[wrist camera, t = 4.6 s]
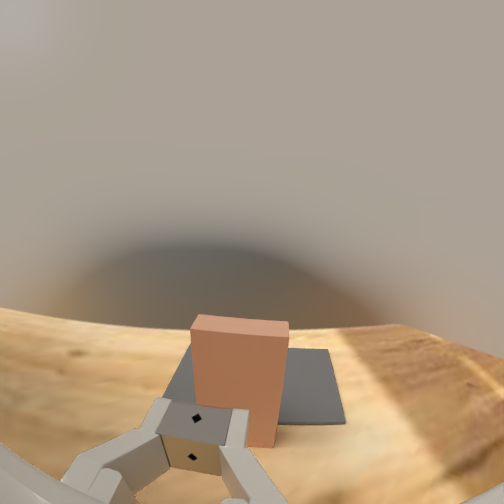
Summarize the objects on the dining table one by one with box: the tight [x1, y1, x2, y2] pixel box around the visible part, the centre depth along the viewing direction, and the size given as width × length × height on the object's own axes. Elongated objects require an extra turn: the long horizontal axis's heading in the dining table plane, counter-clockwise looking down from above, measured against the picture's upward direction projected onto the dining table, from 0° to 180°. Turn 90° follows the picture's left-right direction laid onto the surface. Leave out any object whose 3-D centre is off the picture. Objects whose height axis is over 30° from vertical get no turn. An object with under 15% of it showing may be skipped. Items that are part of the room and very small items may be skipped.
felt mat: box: [162, 344, 346, 425], centre depth 33 cm, size 20×15×1 cm
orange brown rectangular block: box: [190, 314, 289, 448], centre depth 22 cm, size 7×3×13 cm, turn 85°
